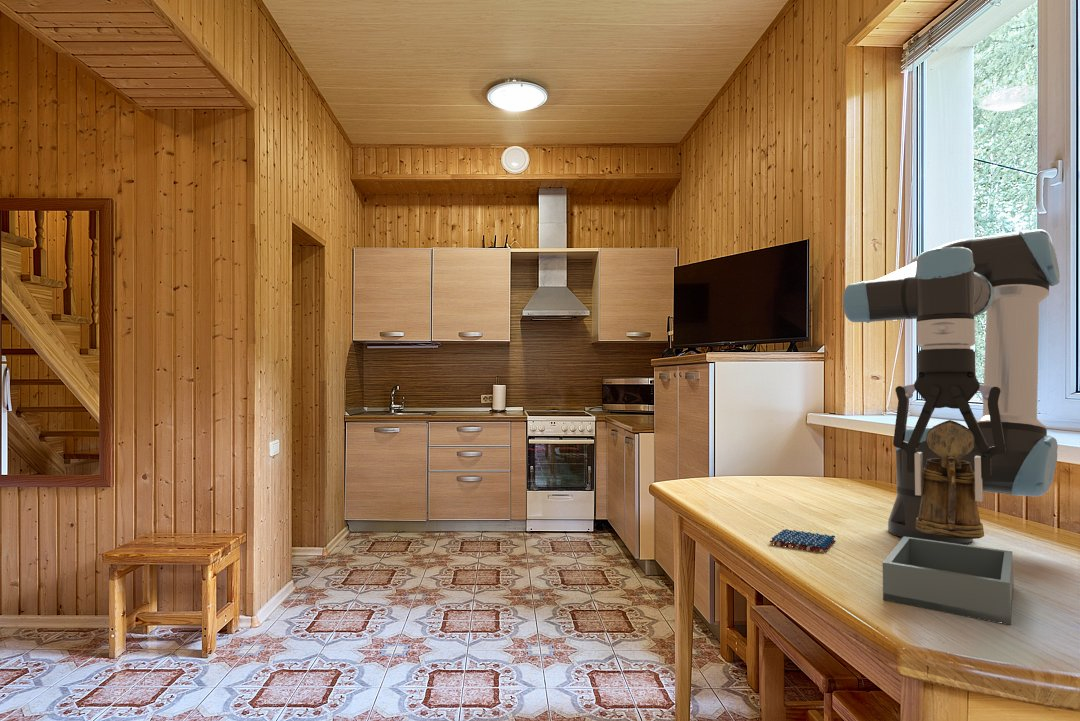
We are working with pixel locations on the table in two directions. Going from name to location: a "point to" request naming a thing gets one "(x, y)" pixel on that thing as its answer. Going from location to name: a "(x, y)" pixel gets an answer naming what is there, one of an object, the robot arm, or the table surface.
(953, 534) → the wooden mug
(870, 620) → the table surface
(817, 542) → the woven mat
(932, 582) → the bin
